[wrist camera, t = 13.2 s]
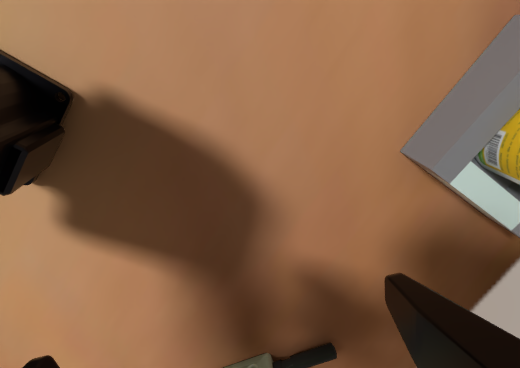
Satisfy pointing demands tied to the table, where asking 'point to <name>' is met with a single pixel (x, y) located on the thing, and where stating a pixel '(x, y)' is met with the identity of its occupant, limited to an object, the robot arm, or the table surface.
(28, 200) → the table surface
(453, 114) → the dock
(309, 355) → the handheld radio
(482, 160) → the supplement bottle
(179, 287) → the table surface
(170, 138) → the table surface
